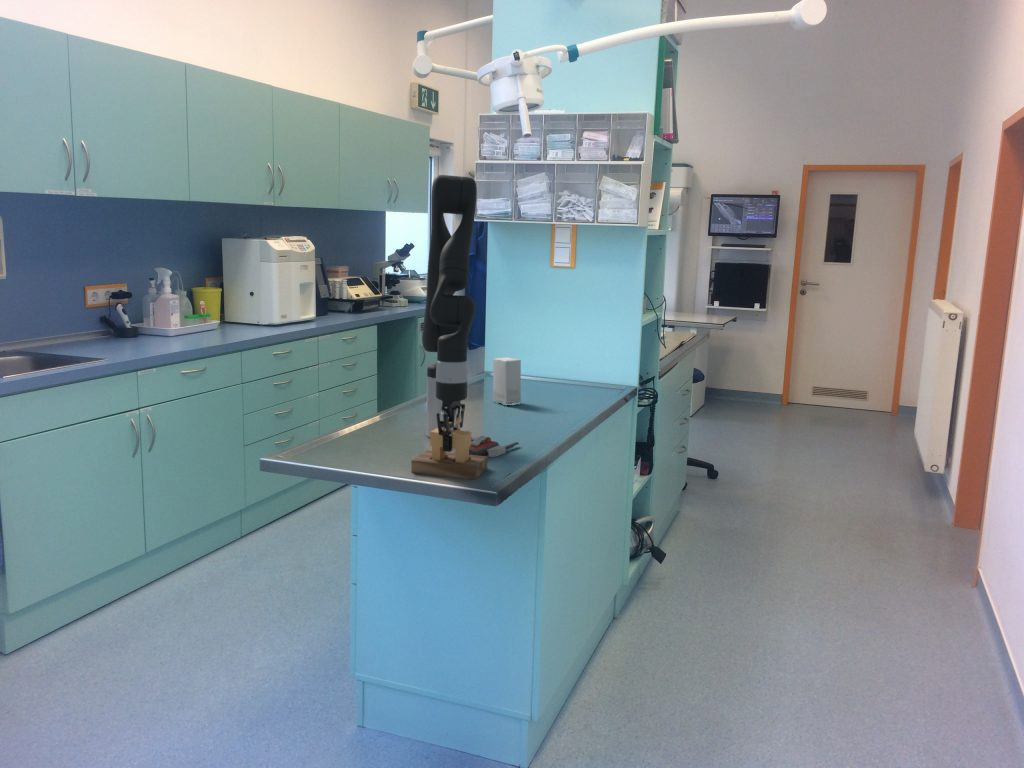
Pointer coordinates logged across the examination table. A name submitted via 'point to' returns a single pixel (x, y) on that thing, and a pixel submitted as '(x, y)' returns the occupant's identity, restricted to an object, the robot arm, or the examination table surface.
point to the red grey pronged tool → (488, 447)
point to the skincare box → (507, 380)
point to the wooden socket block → (450, 465)
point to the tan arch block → (459, 441)
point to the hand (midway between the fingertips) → (450, 448)
